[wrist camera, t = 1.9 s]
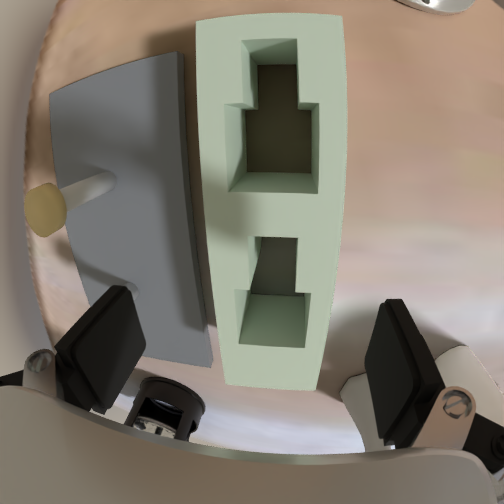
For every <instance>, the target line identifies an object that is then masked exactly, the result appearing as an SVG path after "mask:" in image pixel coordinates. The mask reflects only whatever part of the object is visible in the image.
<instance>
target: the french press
mask: <svg viewBox="0 0 504 504" xmlns="http://www.w3.org/2000/svg"><path fill="white" fill-rule="evenodd" d="M153 399H156V400H159V401H162V402H165V403H168V404H170V405H172V406H174V407H176V408H178V409H180V410H181V411H183V413H177V412H173V411H170V410H168V409H166V408H164V407H162V406H160V405H159V404H158V403H156V402H155V401H154V400H153ZM204 412H205V404H204V402H203V400H202V399H201V398H200V397H199V396H198V395H197V394H196V393H195V392H194V391H192V390H191V389H189V388H188V387H186V386H184V385H182V384H180V383H178V382H175V381H173V380H170V379H166V378H161V377H149V378H146V379H144V380H143V381H142V383H141V385H140V390H139V392H138V394H137V396H136V398H135V400H134V402H133V407H132V409H131V411H130V413H129V415H128V417H127V419H126V421H125V423H124V425H127V426H130V427H133V428H136V429H139V430H143V431H146V432H150V433H153V434H157V435H161V436H165V437H169V438H173V439H177V440H181V441H186V442H189V437H190V434H191V433H193V432H195V431H196V430H197V428H198V425H199V422H200V419H201V416H202V415H203V414H204Z"/></svg>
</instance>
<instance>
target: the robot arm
mask: <svg viewBox="0 0 504 504" xmlns="http://www.w3.org/2000/svg"><path fill="white" fill-rule="evenodd" d="M397 1H399V2H402V3H404V4H406V5H408V6H410V7H413V8H416V9H419V10H422V11H425V12H429V13H434V14H438V15H453V14H459V13H460V12H463V11H465V10H467V9H468V8H469V7H471V6H472V5H473V3H474V2H475V0H397ZM54 347H55V349H56V351H57V354H56V355H55V354H54V353H53V352H52V351H51V350H49V349H40V350H38V351H35V352H34V353H32V354H31V355H30V356H29V357H28V358H27V360H26V361H25V365H24V370H21V371H18V372H15V373H12V374H8V375H5V376H2V377H0V504H504V427H503V426H501V425H499V424H497V423H495V422H493V421H491V420H489V419H487V418H485V417H483V416H482V415H480V414H478V413H476V402H475V399H474V397H473V395H472V394H471V393H470V392H469V391H468V390H466V389H464V388H462V387H459V386H450V387H447V388H446V386H445V384H444V381H443V379H442V377H441V374H440V372H439V370H438V368H437V365H436V363H435V361H434V359H433V357H432V354H431V352H430V350H429V348H428V346H427V344H426V342H425V340H424V338H423V336H422V335H421V334H420V333H419V331H418V329H417V327H416V325H415V323H414V321H413V319H412V317H411V315H410V313H409V311H408V309H407V307H406V306H405V304H404V302H403V300H402V299H387V300H386V301H385V303H381V305H380V307H379V311H378V315H377V319H376V322H375V326H374V330H373V333H372V337H371V340H370V343H369V346H368V350H367V353H366V356H365V369H366V374H367V379H368V383H369V388H370V393H371V398H372V403H373V409H374V414H375V420H376V426H377V432H378V437H379V439H383V443H384V446H390V445H395V449H393V450H382V451H374V452H363V453H349V454H323V455H295V454H273V453H260V452H249V451H240V450H232V449H225V448H218V447H212V446H206V445H201V444H196V443H191V442H186V441H181V440H177V439H173V438H169V437H165V436H161V435H157V434H153V433H150V432H146V431H143V430H139V429H136V428H133V427H130V426H127V425H124V424H120V423H118V422H115V421H112V420H109V419H106V418H104V417H101V416H99V415H96V414H93V413H91V412H89V411H90V410H91V408H92V409H93V411H95V412H98V413H101V414H103V415H104V414H105V412H106V410H107V409H110V408H111V407H112V405H113V403H114V402H115V400H116V398H117V396H118V395H119V393H120V391H121V390H122V388H123V386H124V384H125V383H126V381H127V379H128V378H129V376H130V374H131V372H132V371H133V369H134V367H135V366H136V364H137V362H138V361H139V359H140V357H141V356H142V354H143V352H144V351H145V349H146V340H145V337H144V334H143V331H142V327H141V324H140V321H139V317H138V314H137V311H136V307H135V303H134V300H133V296H132V293H131V291H130V290H128V288H127V287H126V286H120V285H112V286H111V287H110V288H109V289H108V290H107V291H106V292H105V293H104V294H103V295H102V296H101V297H100V298H99V299H98V300H97V301H96V302H95V303H94V304H93V305H92V306H91V307H90V308H89V309H88V310H87V311H86V312H85V313H84V314H83V316H82V317H81V318H80V319H79V320H78V321H77V322H76V323H75V324H74V325H73V326H72V327H71V328H70V330H69V331H68V332H67V333H66V334H65V335H64V336H63V337H62V338H61V340H60V341H59V342H58V343H57V344H56V345H55V346H54Z"/></svg>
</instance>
